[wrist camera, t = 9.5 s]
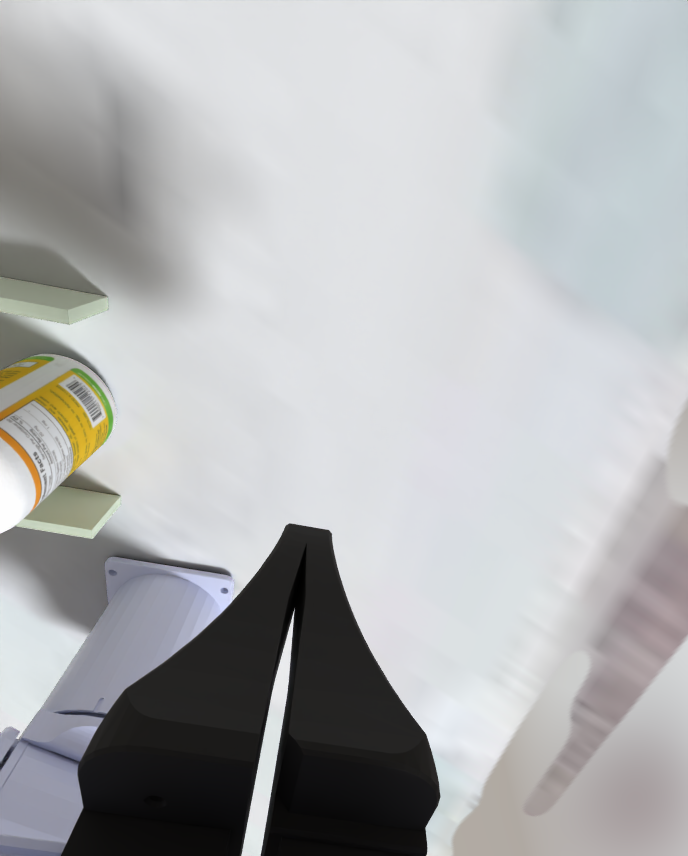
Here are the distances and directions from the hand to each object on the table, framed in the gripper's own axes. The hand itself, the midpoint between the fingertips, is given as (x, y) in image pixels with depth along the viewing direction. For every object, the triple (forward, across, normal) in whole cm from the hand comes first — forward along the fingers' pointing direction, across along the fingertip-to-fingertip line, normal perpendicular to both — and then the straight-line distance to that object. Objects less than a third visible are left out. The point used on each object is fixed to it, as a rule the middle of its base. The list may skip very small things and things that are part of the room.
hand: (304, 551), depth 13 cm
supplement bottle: (+10, +13, +2) cm, 17 cm away
